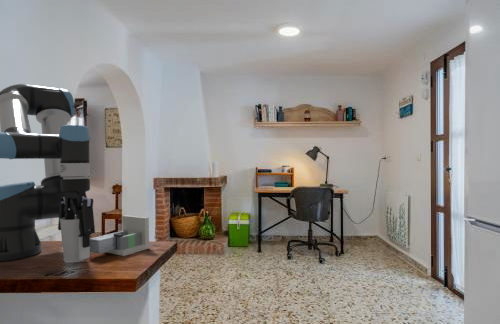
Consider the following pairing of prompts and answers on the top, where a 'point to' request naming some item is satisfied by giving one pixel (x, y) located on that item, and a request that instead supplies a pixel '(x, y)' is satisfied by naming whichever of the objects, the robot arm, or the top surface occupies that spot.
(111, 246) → the grey rectangular slab
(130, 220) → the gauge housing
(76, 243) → the cup
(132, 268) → the top surface
